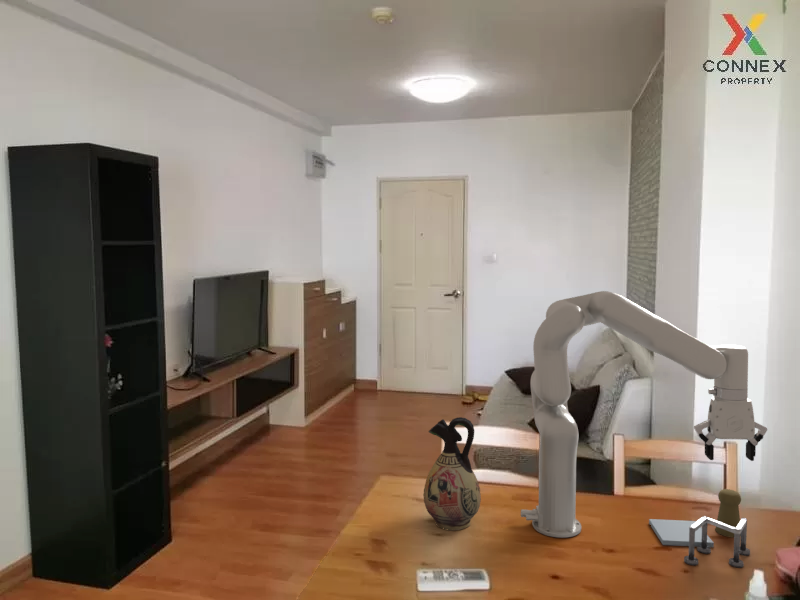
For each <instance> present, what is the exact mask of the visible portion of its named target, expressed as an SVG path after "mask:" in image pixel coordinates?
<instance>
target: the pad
mask: <svg viewBox="0 0 800 600" xmlns="http://www.w3.org/2000/svg"><path fill="white" fill-rule="evenodd" d="M695 522H697V520H682V519H681V520H678V519H676V520H675V519H659V518H657V519H656V518H655V519H654V518H649V519H648V524H649V525H651V526H650V527H651V529H652V530H653V532H654V533H655V535H656V536H657V538H658V539H659V541H660V542H661V544H662V546H677V547H678V546H681V547H689V527H690V526H692V525H693V524H694V523H695ZM701 540H702V526H701V527H700V528H699V529H698V530H696V531H695V547H696V548H697V546H698V545H701ZM714 543H715V542H714V541H713V540H712V539H711V538H710V536H709V535H708V534H707V546H709V547H710V548H714Z"/></svg>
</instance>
